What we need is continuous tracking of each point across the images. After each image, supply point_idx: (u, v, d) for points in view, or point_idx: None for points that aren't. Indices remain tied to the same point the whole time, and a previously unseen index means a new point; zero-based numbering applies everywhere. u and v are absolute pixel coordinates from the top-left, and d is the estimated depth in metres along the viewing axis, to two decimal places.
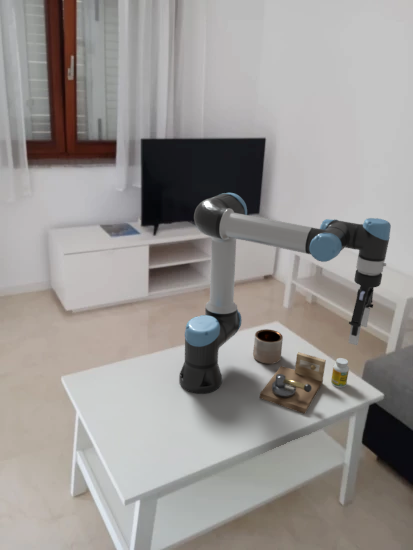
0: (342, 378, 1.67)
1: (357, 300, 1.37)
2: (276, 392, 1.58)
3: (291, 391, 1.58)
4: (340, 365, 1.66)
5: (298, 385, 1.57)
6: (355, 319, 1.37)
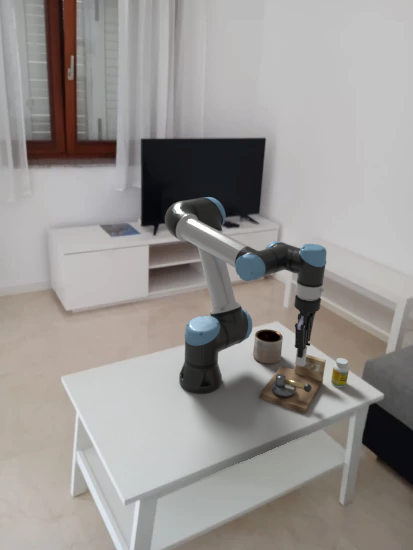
0: (342, 378, 1.67)
1: (296, 330, 1.40)
2: (276, 392, 1.58)
3: (291, 391, 1.58)
4: (340, 365, 1.66)
5: (298, 385, 1.57)
6: (298, 344, 1.43)
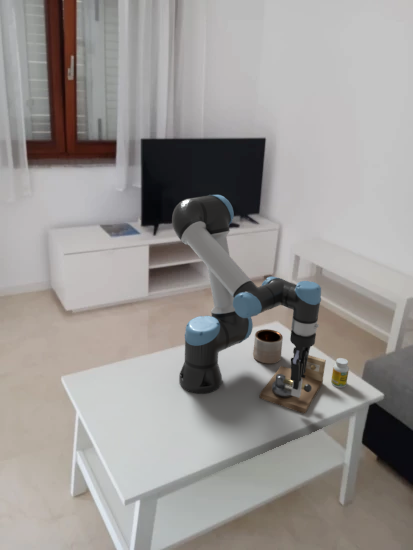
0: (342, 378, 1.67)
1: (292, 364, 1.45)
2: (276, 392, 1.58)
3: (291, 391, 1.58)
4: (340, 365, 1.66)
5: None
6: (294, 377, 1.47)
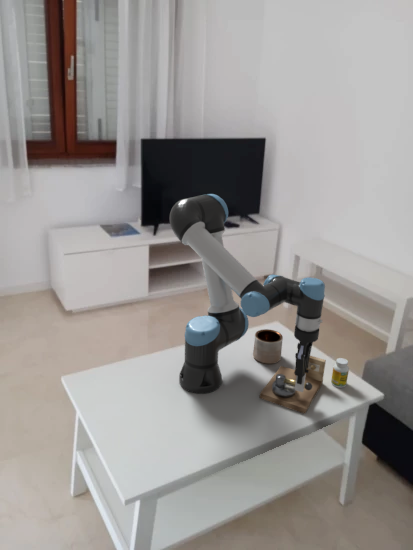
0: (342, 378, 1.67)
1: (296, 359, 1.48)
2: (277, 392, 1.58)
3: (292, 390, 1.58)
4: (340, 365, 1.66)
5: None
6: (298, 372, 1.51)
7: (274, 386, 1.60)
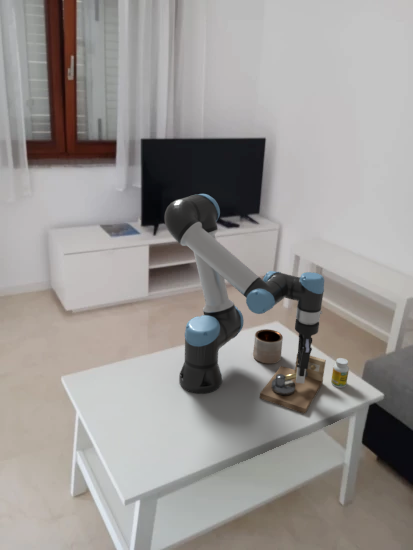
0: (342, 378, 1.67)
1: (303, 353, 1.51)
2: (286, 392, 1.58)
3: (293, 384, 1.62)
4: (340, 365, 1.66)
5: None
6: (303, 365, 1.54)
7: (278, 388, 1.59)
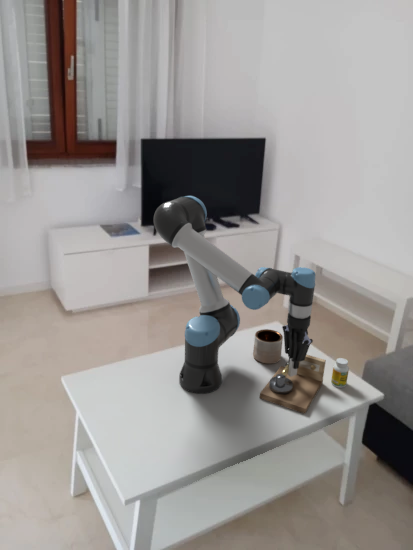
0: (342, 378, 1.67)
1: (305, 346, 1.56)
2: (290, 389, 1.60)
3: (287, 379, 1.65)
4: (340, 365, 1.66)
5: (288, 369, 1.65)
6: (302, 357, 1.59)
7: (282, 388, 1.59)
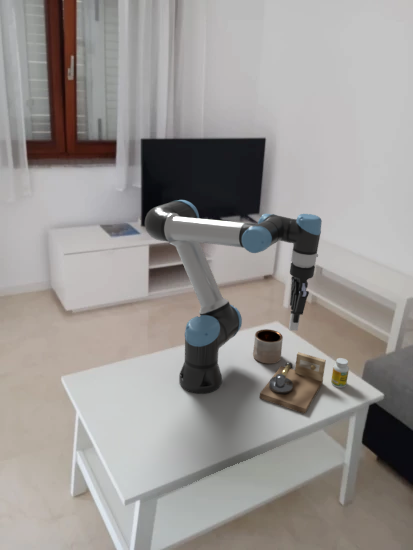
0: (342, 378, 1.67)
1: (300, 297, 1.48)
2: (290, 389, 1.60)
3: (287, 379, 1.65)
4: (340, 365, 1.66)
5: (288, 369, 1.65)
6: (299, 310, 1.51)
7: (282, 388, 1.59)
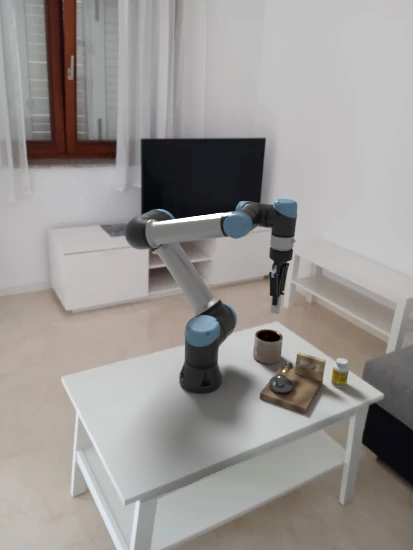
0: (342, 378, 1.67)
1: (270, 278, 1.53)
2: (290, 389, 1.60)
3: (287, 379, 1.65)
4: (340, 365, 1.66)
5: (288, 369, 1.65)
6: (272, 292, 1.56)
7: (282, 388, 1.59)
